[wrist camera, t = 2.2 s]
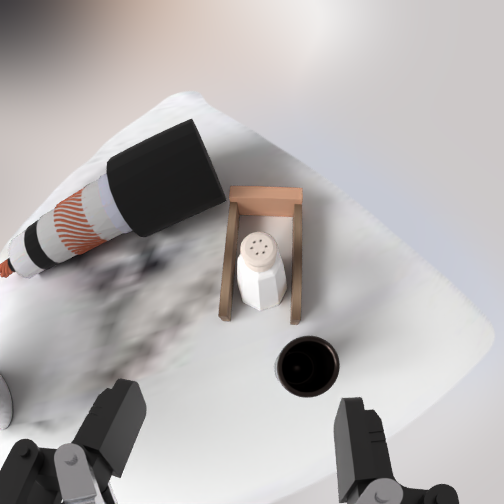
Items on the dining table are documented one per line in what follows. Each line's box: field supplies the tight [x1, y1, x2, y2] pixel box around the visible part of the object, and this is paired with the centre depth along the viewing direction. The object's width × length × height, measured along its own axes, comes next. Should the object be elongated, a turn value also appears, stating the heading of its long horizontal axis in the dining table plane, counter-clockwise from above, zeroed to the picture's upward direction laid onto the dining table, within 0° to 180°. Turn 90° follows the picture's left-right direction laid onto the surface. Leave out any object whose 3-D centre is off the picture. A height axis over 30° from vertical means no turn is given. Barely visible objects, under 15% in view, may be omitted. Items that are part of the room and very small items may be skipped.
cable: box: [0, 119, 226, 278], centre depth 33 cm, size 10×34×10 cm, turn 108°
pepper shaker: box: [237, 232, 288, 311], centre depth 28 cm, size 5×5×11 cm
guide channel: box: [218, 186, 303, 325], centre depth 33 cm, size 14×8×4 cm, turn 176°
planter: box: [274, 336, 340, 398], centre depth 25 cm, size 4×4×10 cm
